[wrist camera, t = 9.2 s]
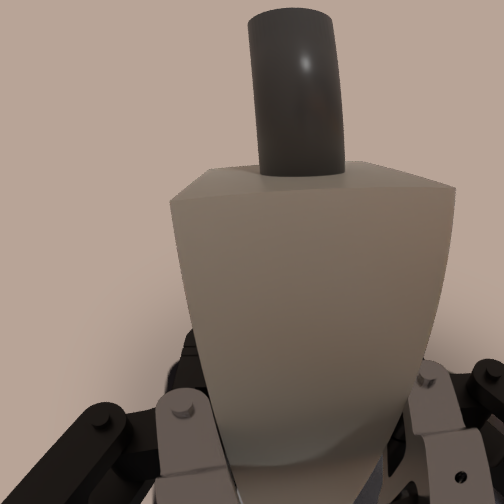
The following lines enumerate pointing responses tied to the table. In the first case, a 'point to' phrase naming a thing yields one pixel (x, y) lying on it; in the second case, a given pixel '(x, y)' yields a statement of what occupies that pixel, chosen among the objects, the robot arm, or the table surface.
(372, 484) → the table surface
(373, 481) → the table surface
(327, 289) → the plug
